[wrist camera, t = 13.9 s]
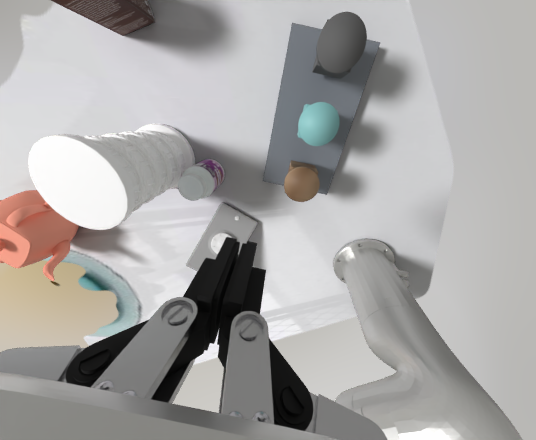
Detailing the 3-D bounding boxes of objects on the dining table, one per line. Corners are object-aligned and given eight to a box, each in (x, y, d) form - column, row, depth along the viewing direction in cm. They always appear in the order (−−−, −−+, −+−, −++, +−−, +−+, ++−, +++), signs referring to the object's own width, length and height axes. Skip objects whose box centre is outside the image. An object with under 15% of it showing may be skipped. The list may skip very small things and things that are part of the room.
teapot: (102, 246, 50) (49, 284, 39) (39, 240, 51) (-31, 275, 40) (80, 188, 43) (8, 215, 32) (7, 182, 44) (-88, 205, 33)
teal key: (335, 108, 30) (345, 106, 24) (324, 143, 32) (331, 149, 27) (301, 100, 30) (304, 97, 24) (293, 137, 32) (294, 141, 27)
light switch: (259, 222, 41) (223, 286, 41) (255, 221, 47) (224, 276, 47) (221, 201, 40) (183, 266, 39) (222, 202, 46) (190, 259, 45)
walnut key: (318, 162, 33) (324, 172, 28) (309, 191, 36) (313, 204, 30) (288, 156, 33) (288, 164, 28) (281, 185, 36) (280, 197, 30)
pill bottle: (230, 180, 40) (214, 198, 31) (207, 189, 41) (186, 210, 32) (216, 153, 37) (195, 165, 29) (192, 164, 39) (165, 179, 30)
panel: (375, 46, 29) (397, 29, 23) (325, 191, 39) (331, 205, 33) (292, 27, 28) (292, 6, 23) (263, 178, 39) (259, 189, 33)
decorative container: (207, 166, 39) (151, 203, 23) (167, 197, 42) (94, 247, 27) (163, 108, 35) (57, 104, 19) (122, 148, 38) (5, 172, 23)
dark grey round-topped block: (357, 37, 26) (374, 17, 21) (342, 83, 28) (355, 76, 23) (318, 28, 26) (326, 6, 21) (307, 75, 28) (311, 67, 23)
